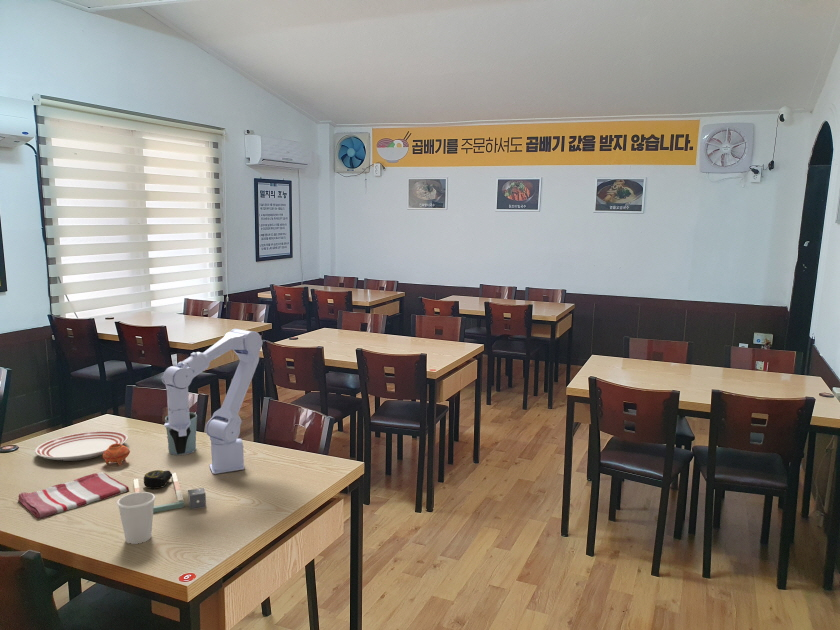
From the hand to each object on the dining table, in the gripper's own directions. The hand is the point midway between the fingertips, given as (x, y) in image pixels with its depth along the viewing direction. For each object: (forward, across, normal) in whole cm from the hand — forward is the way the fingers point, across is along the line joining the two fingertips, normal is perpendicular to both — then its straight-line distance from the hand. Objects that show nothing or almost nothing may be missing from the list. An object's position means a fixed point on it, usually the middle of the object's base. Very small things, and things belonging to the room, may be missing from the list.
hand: (180, 452), depth 183 cm
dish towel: (+10, -4, -28) cm, 30 cm away
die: (+9, +17, +2) cm, 20 cm away
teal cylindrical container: (+10, -29, +4) cm, 31 cm away
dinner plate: (+10, -44, -26) cm, 52 cm away
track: (+9, +5, -7) cm, 13 cm away
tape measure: (+10, -2, -6) cm, 12 cm away
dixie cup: (+9, +30, -14) cm, 34 cm away
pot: (+10, -26, -16) cm, 32 cm away
